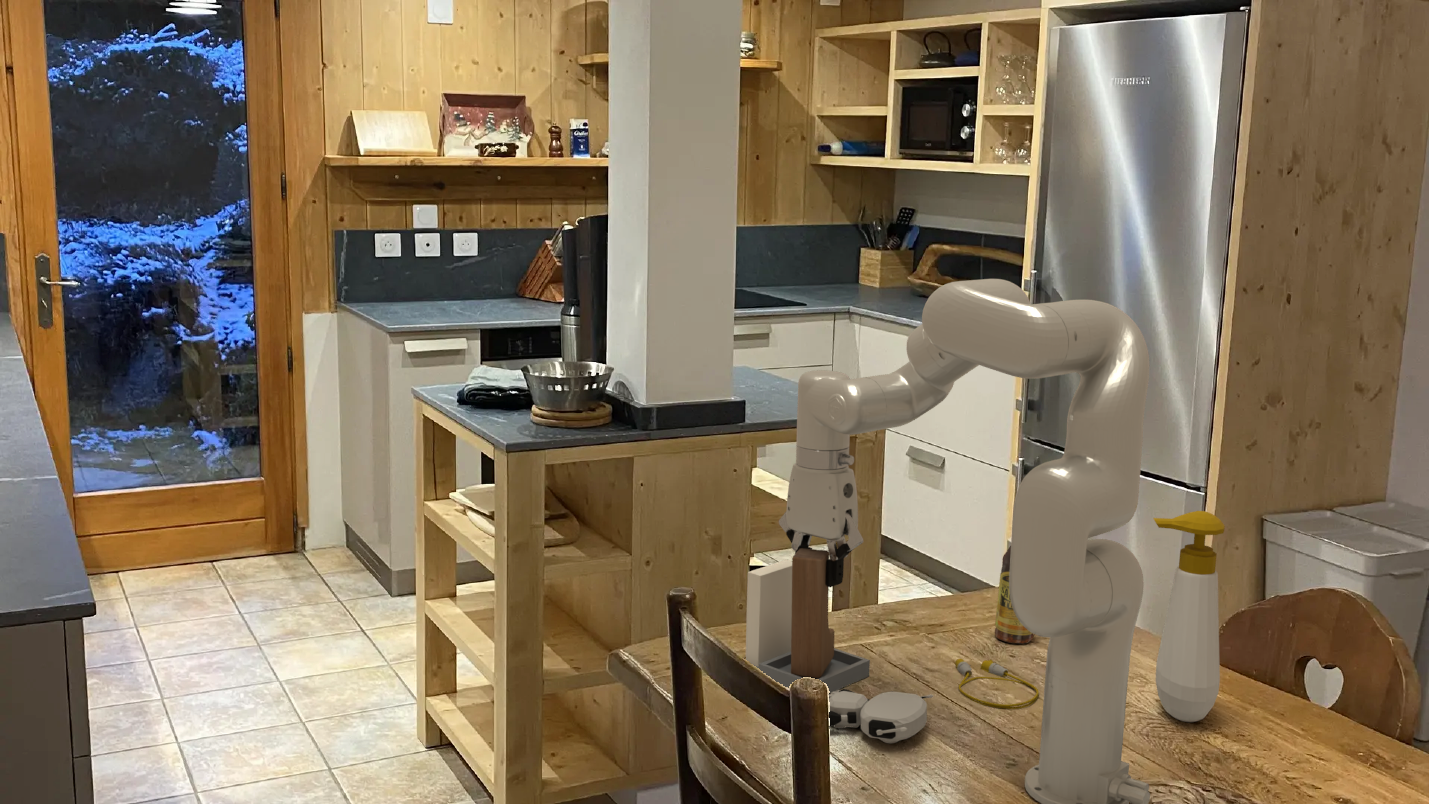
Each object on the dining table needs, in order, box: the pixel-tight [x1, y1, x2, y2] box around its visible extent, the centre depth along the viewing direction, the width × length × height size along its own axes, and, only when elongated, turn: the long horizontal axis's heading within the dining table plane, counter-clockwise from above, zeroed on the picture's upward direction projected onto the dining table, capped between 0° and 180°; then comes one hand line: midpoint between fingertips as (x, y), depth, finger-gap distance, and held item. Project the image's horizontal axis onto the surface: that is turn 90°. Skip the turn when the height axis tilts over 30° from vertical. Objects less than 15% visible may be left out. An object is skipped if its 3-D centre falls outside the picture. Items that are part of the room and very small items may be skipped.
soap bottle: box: [1153, 510, 1226, 723], centre depth 185 cm, size 13×10×29 cm
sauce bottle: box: [994, 545, 1034, 645], centre depth 213 cm, size 6×6×20 cm
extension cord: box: [954, 658, 1040, 710], centre depth 195 cm, size 12×16×2 cm
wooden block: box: [791, 548, 835, 678], centre depth 195 cm, size 9×4×18 cm, turn 162°
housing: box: [745, 559, 871, 694], centre depth 198 cm, size 16×13×15 cm
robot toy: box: [828, 688, 934, 744], centre depth 180 cm, size 12×4×15 cm
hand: (818, 579), depth 194 cm, fingers closed on wooden block, 5 cm apart
